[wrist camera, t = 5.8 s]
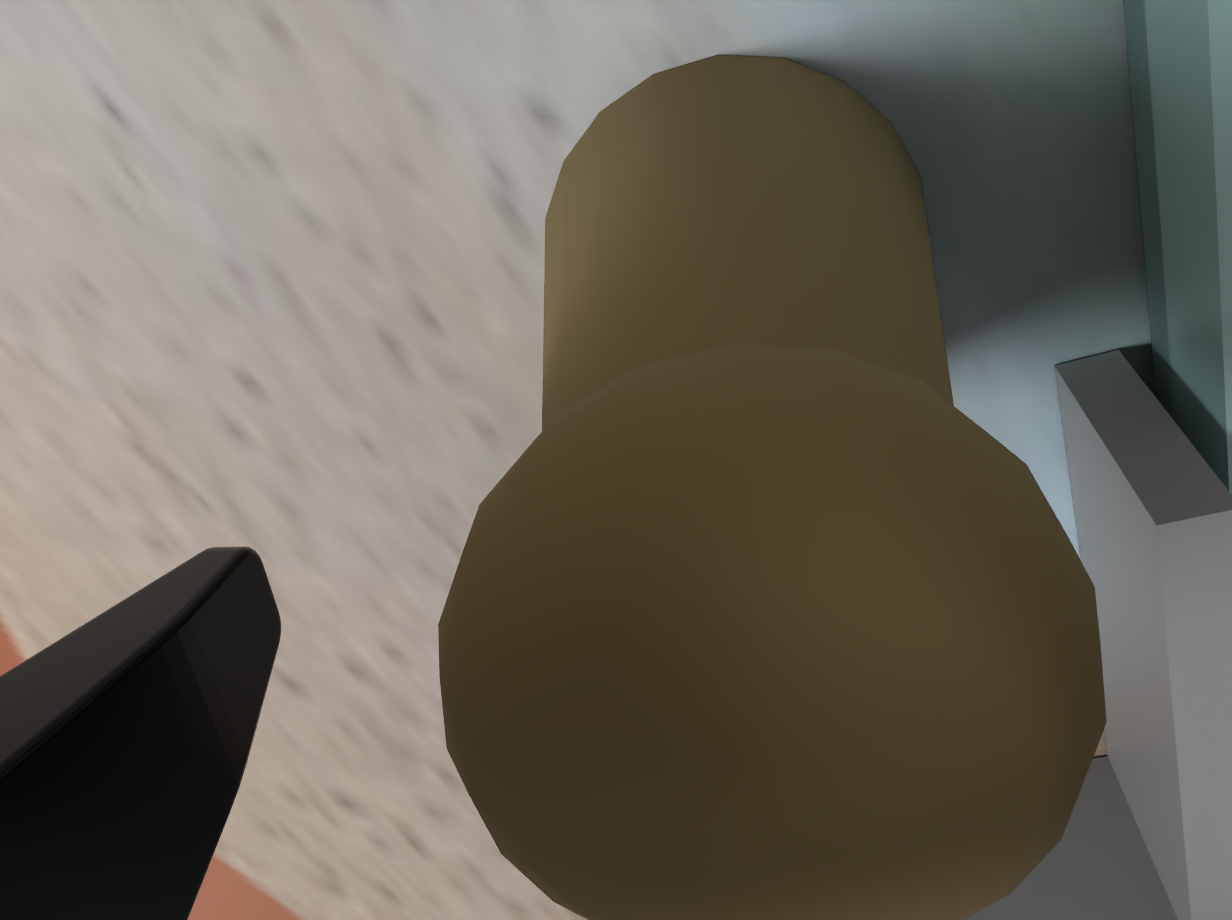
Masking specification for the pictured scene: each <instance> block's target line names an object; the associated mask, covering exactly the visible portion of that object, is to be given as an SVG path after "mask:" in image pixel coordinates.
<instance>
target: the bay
mask: <svg viewBox="0 0 1232 920" xmlns="http://www.w3.org/2000/svg"><path fill="white" fill-rule="evenodd" d="M1054 367H1055V375H1056V382H1057V389H1058V397H1059V404H1060V411H1061V419H1062V426H1063V433H1064V440H1065V448H1066V455H1067V462H1068V470H1069V477H1070V484H1071V492H1072V499H1073V506H1074V514H1075V521H1076V528H1077V536H1078V543H1079V550H1080V558H1081V562H1082V564H1083V566H1084V568H1085V570H1086V571H1087V573H1088V575H1089V577H1090V579H1091V581H1092V583H1093V585H1094V586H1095V594H1096V604H1097V614H1098V624H1099V634H1100V643H1101V656H1102V669H1103V681H1104V694H1105V707H1106V719H1107V722H1106V725H1105V727H1104V733H1105V740H1106V748H1107V755H1108V756H1105V757H1099V758H1093V759H1092V762H1091V764H1090V767H1089V769H1088V772H1087V775H1086V777H1085V780H1084V782H1083V785H1082V788H1081V790H1080V793H1079V795H1078V798H1077V800H1076V803H1075V806H1074V808H1073V811H1072V813H1071V816H1070V819H1069V821H1068V824H1067V826H1066V829H1065V832H1064V834H1063V837H1062V839H1061V840H1060V841H1059V842H1058V844H1057V845H1056V846H1055V847H1054V848H1053V849H1052V850H1051V851H1050V852H1049V853H1048V854H1047V855H1046V856H1045V857H1044V859H1043V860H1042V861H1041V862H1040V863H1039V864H1038V865H1037V866H1036V867H1035V868H1034V869H1033V870H1032V871H1031V872H1030V874H1029V875H1028V876H1027V877H1026V878H1025V879H1024V880H1023V881H1022V882H1021V883H1020V884H1019V885H1018V886H1017V887H1016V889H1015V890H1014V891H1013V892H1012V893H1010V894H1009V895H1007V896H1005V897H1004V898H1002V899H1000V900H998V901H997V902H995V903H993V904H992V905H990V906H988V907H986V908H985V909H983V910H981V911H980V912H978V913H976V914H974V915H973V916H971V917H969V918H968V919H966V920H1232V494H1231V493H1230V492H1229V491H1228V489H1227V488H1226V487H1225V485H1224V484H1223V483H1222V482H1221V480H1220V479H1219V478H1218V476H1217V475H1216V474H1215V473H1214V471H1213V470H1212V469H1211V467H1210V466H1209V465H1208V464H1207V462H1206V461H1205V460H1204V459H1203V457H1202V456H1201V455H1200V453H1199V452H1198V451H1197V450H1196V448H1195V447H1194V446H1193V444H1192V443H1191V442H1190V441H1189V439H1188V438H1187V437H1186V435H1185V434H1184V433H1183V432H1182V430H1181V429H1180V428H1179V426H1178V425H1177V424H1176V423H1175V421H1174V420H1173V419H1172V417H1171V416H1170V415H1169V414H1168V412H1167V411H1166V410H1165V409H1164V407H1163V406H1162V405H1161V403H1160V402H1159V401H1158V400H1157V398H1156V397H1155V396H1154V394H1153V393H1152V392H1151V391H1150V389H1149V388H1148V387H1147V385H1146V384H1145V383H1144V382H1143V380H1142V379H1141V378H1140V376H1139V375H1138V374H1137V373H1136V371H1135V370H1134V369H1133V367H1132V366H1131V365H1130V364H1129V362H1128V361H1127V360H1126V359H1125V357H1124V356H1123V355H1122V353H1121V352H1120V351H1119V350H1115V351H1111V352H1107V353H1103V354H1099V355H1095V356H1091V357H1087V358H1083V359H1079V360H1075V361H1071V362H1067V363H1063V364H1059V365H1055V366H1054ZM582 918H583V920H588V919H586V918H584V917H582Z"/></svg>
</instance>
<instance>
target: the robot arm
mask: <svg viewBox="0 0 1232 920" xmlns="http://www.w3.org/2000/svg"><path fill="white" fill-rule="evenodd" d="M280 635H281V621H280V615H279V611H278V608H277V605H276V602H275V599H274V596H273V593H272V590H271V587H270V584H269V581H268V578H267V575H266V572H265V569H264V566H263V563H262V561H261V558H260V556H259V555H258V554H257V552H256V551H255V550H253V549H251V548H249V547H214V548H209V549H206V550H204V551H202V552H201V553H199V554H198V555H196V556H194V557H193V558H191V559H189V560H188V561H186V562H185V563H183V564H181V565H180V566H178V567H177V568H175V569H173V570H172V571H170V572H168V573H167V574H165V575H164V576H162V577H160V578H159V579H157V580H155V581H154V582H152V583H151V584H149V585H147V586H146V587H144V588H142V589H141V590H139V591H138V592H136V593H134V594H133V595H131V596H130V597H128V598H126V599H125V600H123V601H121V602H120V603H118V604H117V605H115V606H113V607H112V608H110V609H108V610H107V611H105V612H104V613H102V614H100V615H99V616H97V617H96V618H94V619H92V620H91V621H89V622H87V623H86V624H84V625H83V626H81V627H79V628H78V629H76V630H74V631H73V632H71V633H70V634H68V635H66V636H65V637H63V638H62V639H60V640H58V641H57V642H55V643H53V644H52V645H50V646H49V647H47V648H45V649H44V650H42V651H40V652H39V653H37V654H36V655H34V656H32V657H31V658H29V659H27V660H26V661H24V662H23V663H21V664H19V665H18V666H16V667H15V668H13V669H12V670H10V671H8V672H6V673H5V674H3V675H2V676H0V920H187V919H188V916H189V914H190V912H191V909H192V906H193V904H194V901H195V899H196V896H197V894H198V891H199V889H200V886H201V884H202V881H203V879H204V876H205V874H206V871H207V869H208V866H209V864H210V861H211V858H212V856H213V853H214V851H215V848H216V846H217V843H218V841H219V838H220V836H221V833H222V831H223V828H224V826H225V823H226V821H227V818H228V816H229V813H230V811H231V808H232V805H233V802H234V800H235V797H236V794H237V792H238V789H239V786H240V783H241V780H242V776H243V773H244V770H245V767H246V763H247V760H248V756H249V753H250V749H251V745H252V741H253V738H254V734H255V730H256V727H257V723H258V719H259V716H260V712H261V708H262V705H263V701H264V697H265V694H266V690H267V686H268V682H269V679H270V675H271V671H272V668H273V664H274V660H275V657H276V653H277V649H278V646H279V641H280Z"/></svg>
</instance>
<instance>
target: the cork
mask: <svg viewBox="0 0 1232 920" xmlns="http://www.w3.org/2000/svg"><path fill="white" fill-rule="evenodd" d="M438 626H439V669H440V685H441V695H442V705H443V715H444V725H445V735H446V745H447V750H448V752H449V754H450V756H451V758H452V760H453V762H454V764H455V766H456V768H457V771H458V773H459V775H460V777H461V779H462V781H463V783H464V785H465V787H466V789H467V791H468V793H469V796H470V797H471V799H472V801H473V803H474V805H475V807H476V808H477V810H478V812H479V814H480V816H481V818H482V819H483V821H484V823H485V825H486V827H487V829H488V830H489V832H490V834H491V836H492V838H493V840H494V841H495V843H496V845H497V847H498V849H499V851H500V852H501V854H502V855H503V856H504V857H505V858H506V859H508V860H509V861H510V862H511V863H512V864H513V865H514V866H515V867H516V868H517V869H518V870H520V871H521V872H522V873H523V874H524V875H525V876H526V877H527V878H528V879H529V880H531V881H532V882H533V883H534V884H535V885H536V886H537V887H538V888H539V889H540V890H541V891H543V892H544V893H545V894H546V895H547V896H548V897H549V898H550V899H551V900H552V901H553V902H555V903H557V904H559V905H561V906H563V907H565V908H567V909H569V910H571V911H572V912H574V913H576V914H578V915H580V916H582V917H584V918H586V919H588V920H966V919H968V918H969V917H971V916H973V915H974V914H976V913H978V912H980V911H981V910H983V909H985V908H986V907H988V906H990V905H992V904H993V903H995V902H997V901H998V900H1000V899H1002V898H1004V897H1005V896H1007V895H1009V894H1010V893H1012V892H1013V891H1014V890H1015V889H1016V887H1017V886H1018V885H1019V884H1020V883H1021V882H1022V881H1023V880H1024V879H1025V878H1026V877H1027V876H1028V875H1029V874H1030V872H1031V871H1032V870H1033V869H1034V868H1035V867H1036V866H1037V865H1038V864H1039V863H1040V862H1041V861H1042V860H1043V859H1044V857H1045V856H1046V855H1047V854H1048V853H1049V852H1050V851H1051V850H1052V849H1053V848H1054V847H1055V846H1056V845H1057V844H1058V842H1059V841H1060V840H1061V839H1062V837H1063V834H1064V832H1065V829H1066V826H1067V824H1068V821H1069V819H1070V816H1071V813H1072V811H1073V808H1074V806H1075V803H1076V800H1077V798H1078V795H1079V793H1080V790H1081V788H1082V785H1083V782H1084V780H1085V777H1086V775H1087V772H1088V769H1089V767H1090V764H1091V762H1092V759H1093V756H1094V754H1095V751H1096V748H1097V746H1098V743H1099V740H1100V738H1101V735H1102V733H1103V730H1104V727H1105V725H1106V722H1107V719H1106V707H1105V694H1104V681H1103V669H1102V656H1101V643H1100V634H1099V624H1098V614H1097V604H1096V594H1095V586H1094V585H1093V583H1092V581H1091V579H1090V577H1089V575H1088V573H1087V571H1086V570H1085V568H1084V566H1083V564H1082V562H1081V560H1080V558H1079V557H1078V555H1077V553H1076V551H1075V549H1074V547H1073V545H1072V543H1071V542H1070V540H1069V538H1068V536H1067V534H1066V533H1065V531H1064V529H1063V527H1062V526H1061V524H1060V522H1059V520H1058V519H1057V517H1056V515H1055V513H1054V512H1053V510H1052V508H1051V507H1050V505H1049V503H1048V501H1047V500H1046V498H1045V496H1044V494H1043V493H1042V491H1041V489H1040V487H1039V486H1038V484H1037V482H1036V480H1035V479H1034V477H1033V475H1032V473H1031V472H1030V470H1029V468H1028V466H1027V465H1026V464H1025V463H1024V462H1023V461H1022V460H1020V459H1019V458H1018V457H1017V456H1016V455H1014V454H1013V453H1012V452H1011V451H1009V450H1008V449H1007V448H1006V447H1004V446H1003V445H1002V444H1001V443H1000V442H998V441H997V440H996V439H995V438H993V437H992V436H991V435H990V434H988V433H987V432H986V431H985V430H983V429H982V428H981V427H980V426H978V425H977V424H976V423H974V422H973V421H972V420H971V419H969V418H968V417H967V416H966V415H964V414H963V413H962V412H960V411H959V410H958V409H957V408H955V407H954V404H953V397H952V390H951V383H950V377H949V370H948V363H947V356H946V349H945V342H944V335H943V328H942V321H941V314H940V307H939V300H938V293H937V286H936V279H935V272H934V265H933V258H932V251H931V244H930V237H929V230H928V223H927V217H926V210H925V203H924V197H923V190H922V184H921V177H920V175H919V173H918V171H917V169H916V167H915V165H914V164H913V162H912V160H911V158H910V156H909V154H908V153H907V151H906V149H905V147H904V145H903V143H902V142H901V140H900V138H899V136H898V134H897V132H896V131H895V129H894V127H893V125H892V123H891V122H890V121H889V120H888V119H886V118H885V117H884V116H883V115H882V114H881V113H880V112H878V111H877V110H876V109H875V108H874V107H873V106H872V105H870V104H869V103H868V102H867V101H866V100H865V99H864V98H862V97H861V96H860V95H859V94H858V93H857V92H856V91H854V90H853V89H852V88H851V87H850V86H849V85H848V84H846V83H845V82H844V81H842V80H839V79H837V78H834V77H832V76H829V75H827V74H824V73H821V72H819V71H816V70H814V69H811V68H809V67H806V66H803V65H801V64H798V63H796V62H793V61H791V60H788V59H786V58H782V57H754V56H725V55H716V56H712V57H709V58H706V59H702V60H699V61H696V62H692V63H689V64H686V65H682V66H679V67H676V68H672V69H669V70H666V71H663V72H659V73H656V74H653V75H651V76H650V77H649V78H647V79H646V80H644V81H643V82H642V83H640V84H639V85H637V86H636V87H634V88H633V89H632V90H630V91H629V92H627V93H626V94H625V95H623V96H622V97H620V98H619V99H617V100H616V101H615V102H613V103H612V104H610V105H609V106H608V107H606V108H605V109H603V110H602V111H600V113H599V114H598V115H597V117H596V118H595V120H594V121H593V122H592V124H591V125H590V126H589V128H588V129H587V130H586V132H585V133H584V134H583V136H582V137H581V139H580V140H579V141H578V143H577V144H576V145H575V147H574V148H573V149H572V151H571V152H570V154H569V155H568V156H567V158H566V159H565V160H564V162H563V165H562V168H561V171H560V174H559V177H558V181H557V184H556V187H555V190H554V193H553V196H552V199H551V203H550V206H549V209H548V212H547V215H546V223H545V284H544V345H543V406H542V433H541V434H540V435H539V436H538V437H537V438H536V439H535V440H534V442H533V443H532V444H531V445H530V446H529V447H528V449H527V450H526V451H525V452H524V453H523V454H522V456H521V457H520V458H519V459H518V460H517V461H516V463H515V464H514V465H513V466H512V467H511V469H510V470H509V471H508V472H507V473H506V474H505V476H504V477H503V478H502V479H501V480H500V481H499V483H498V484H497V485H496V486H495V487H494V488H493V490H492V491H491V492H490V493H489V494H488V495H487V497H486V498H485V499H484V500H483V501H482V502H481V504H480V505H479V508H478V511H477V514H476V516H475V519H474V522H473V525H472V527H471V530H470V533H469V536H468V539H467V541H466V544H465V547H464V550H463V553H462V556H461V559H460V562H459V565H458V568H457V571H456V574H455V577H454V580H453V583H452V586H451V589H450V592H449V595H448V598H447V601H446V604H445V607H444V610H443V613H442V616H441V618H440V621H439V624H438Z"/></svg>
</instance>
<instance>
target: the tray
mask: <svg viewBox="0 0 1232 920" xmlns="http://www.w3.org/2000/svg"><path fill="white" fill-rule="evenodd" d="M1123 1H1124V14H1125V26H1126V38H1127V50H1128V62H1129V74H1130V86H1131V99H1132V111H1133V123H1134V135H1135V147H1136V159H1137V172H1138V184H1139V196H1140V208H1141V220H1142V232H1143V244H1144V257H1145V269H1146V281H1147V293H1148V305H1149V317H1150V330H1151V342H1152V354H1153V366H1154V378H1155V390H1156V398H1157V400H1158V401H1159V402H1160V403H1161V405H1162V406H1163V407H1164V409H1165V410H1166V411H1167V412H1168V414H1169V415H1170V416H1171V417H1172V419H1173V420H1174V421H1175V423H1176V424H1177V425H1178V426H1179V428H1180V429H1181V430H1182V432H1183V433H1184V434H1185V435H1186V437H1187V438H1188V439H1189V441H1190V442H1191V443H1192V444H1193V446H1194V447H1195V448H1196V450H1197V451H1198V452H1199V453H1200V455H1201V456H1202V457H1203V459H1204V460H1205V461H1206V462H1207V464H1208V465H1209V466H1210V467H1211V469H1212V470H1213V471H1214V473H1215V474H1216V475H1217V476H1218V478H1219V479H1220V480H1221V482H1222V483H1223V484H1224V485H1225V487H1226V488H1227V489H1228V491H1229V492H1230V493H1231V494H1232V0H1123Z"/></svg>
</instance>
